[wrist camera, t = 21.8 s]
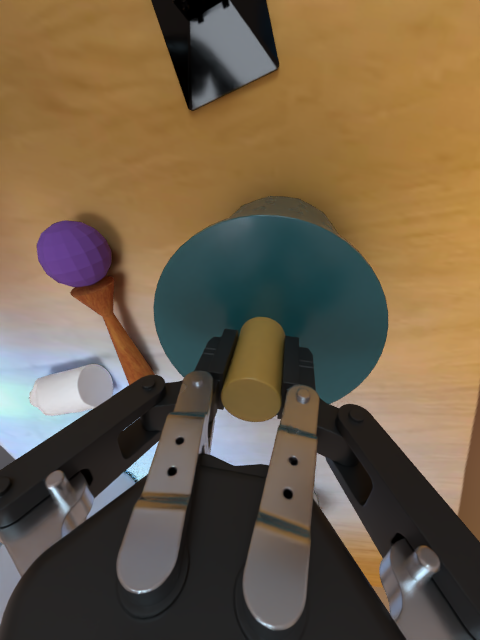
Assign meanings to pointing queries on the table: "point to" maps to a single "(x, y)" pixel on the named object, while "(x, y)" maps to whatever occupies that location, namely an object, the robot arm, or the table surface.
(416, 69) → the table surface
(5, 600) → the plastic bottle
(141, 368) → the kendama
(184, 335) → the teal pot lid
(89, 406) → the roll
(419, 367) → the table surface
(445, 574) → the robot arm
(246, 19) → the black stand
